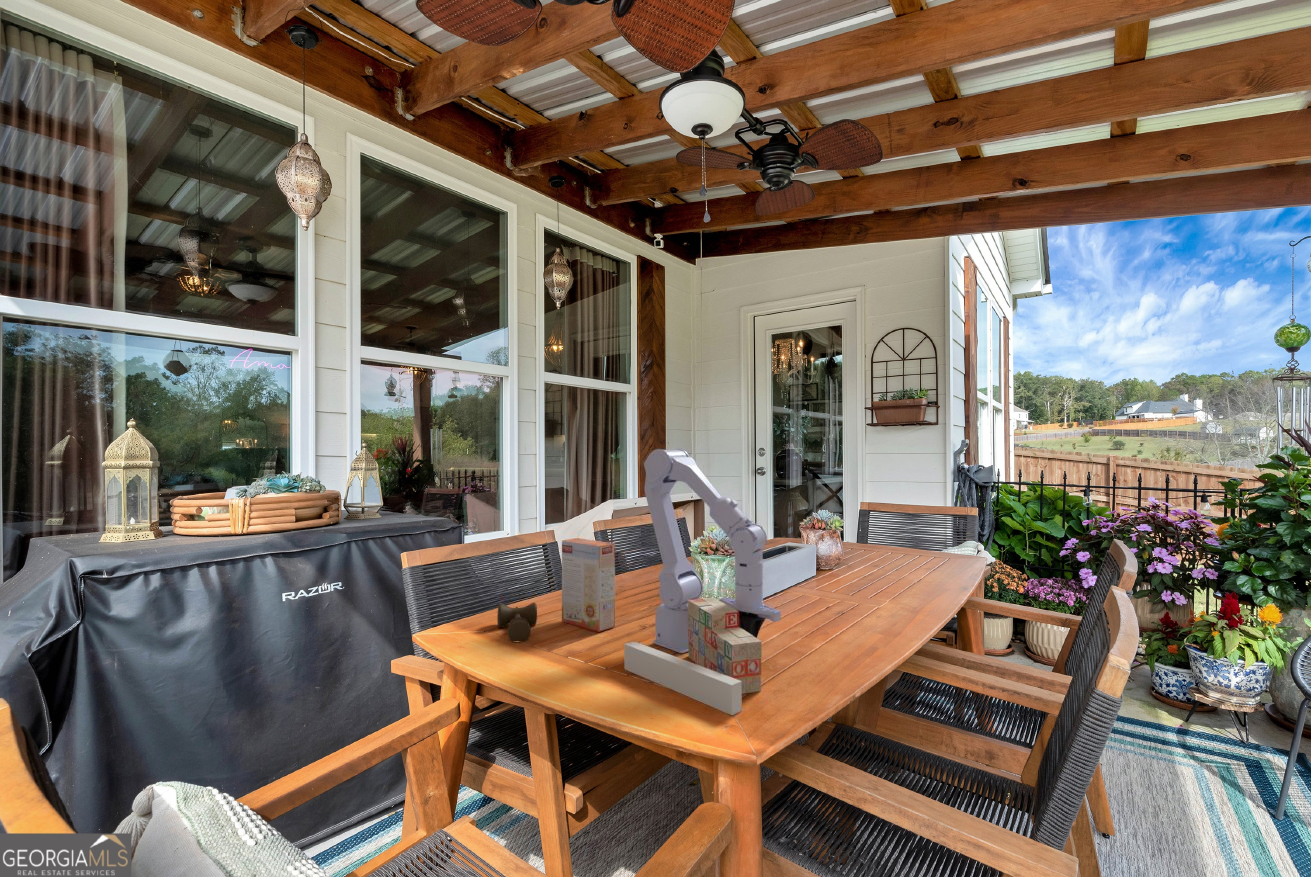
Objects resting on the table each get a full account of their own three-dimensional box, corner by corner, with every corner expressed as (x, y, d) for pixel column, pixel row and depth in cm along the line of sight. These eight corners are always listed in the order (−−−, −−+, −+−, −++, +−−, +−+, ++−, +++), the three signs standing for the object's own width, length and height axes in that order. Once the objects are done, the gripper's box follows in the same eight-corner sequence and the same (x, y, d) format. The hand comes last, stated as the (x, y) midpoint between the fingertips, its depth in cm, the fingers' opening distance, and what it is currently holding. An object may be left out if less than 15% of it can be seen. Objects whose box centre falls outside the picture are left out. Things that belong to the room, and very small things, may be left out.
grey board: (624, 668, 119) (624, 643, 119) (633, 665, 121) (633, 641, 121) (732, 715, 99) (731, 685, 99) (741, 710, 100) (741, 681, 100)
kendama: (497, 647, 134) (497, 619, 154) (540, 644, 137) (535, 617, 156) (497, 620, 134) (497, 596, 154) (541, 618, 137) (535, 595, 156)
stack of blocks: (762, 692, 108) (762, 624, 109) (731, 696, 106) (730, 627, 107) (714, 653, 129) (714, 596, 129) (687, 656, 127) (687, 598, 127)
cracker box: (616, 627, 147) (616, 542, 147) (598, 633, 142) (598, 545, 142) (578, 616, 156) (578, 536, 156) (560, 621, 151) (560, 539, 152)
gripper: (789, 586, 122) (789, 652, 121) (734, 574, 132) (734, 636, 132) (768, 591, 117) (768, 661, 117) (713, 579, 127) (713, 643, 127)
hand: (749, 648), depth 124 cm, fingers closed
